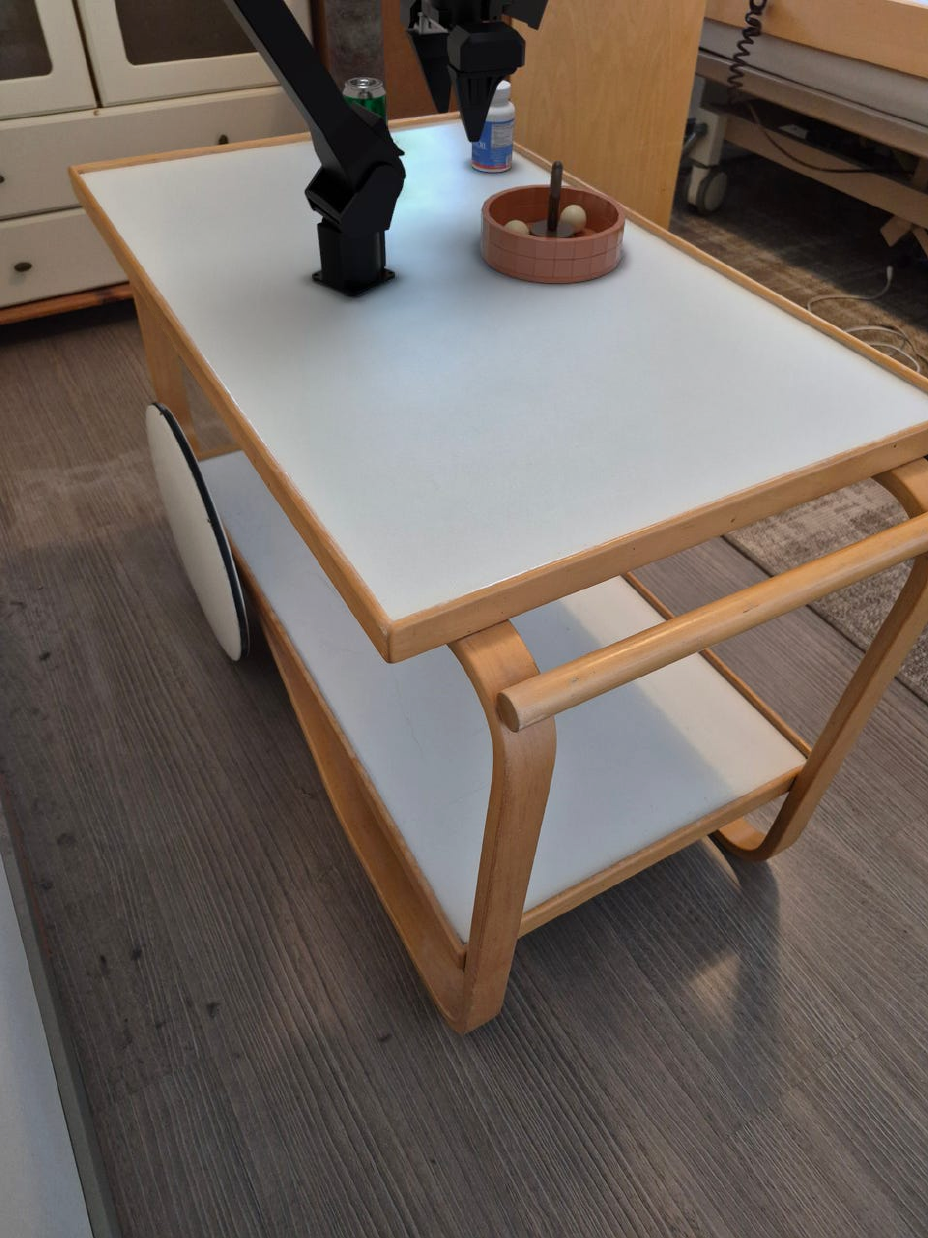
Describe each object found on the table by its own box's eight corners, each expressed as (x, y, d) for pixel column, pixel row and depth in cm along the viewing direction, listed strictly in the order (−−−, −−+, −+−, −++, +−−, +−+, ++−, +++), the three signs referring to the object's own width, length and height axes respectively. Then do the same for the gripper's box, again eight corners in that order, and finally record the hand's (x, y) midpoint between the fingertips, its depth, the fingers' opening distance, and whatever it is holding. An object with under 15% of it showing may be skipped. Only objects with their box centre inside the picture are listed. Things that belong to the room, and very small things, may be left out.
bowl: (566, 297, 94) (571, 254, 90) (452, 254, 100) (452, 212, 97) (646, 249, 102) (653, 209, 99) (535, 212, 109) (538, 173, 106)
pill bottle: (464, 161, 121) (465, 79, 114) (500, 156, 122) (503, 75, 115) (482, 175, 117) (484, 91, 110) (519, 170, 119) (523, 87, 112)
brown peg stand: (555, 260, 98) (563, 173, 92) (519, 247, 100) (524, 161, 94) (581, 245, 101) (591, 160, 95) (545, 233, 103) (552, 149, 97)
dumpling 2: (576, 235, 101) (575, 206, 100) (555, 235, 103) (553, 206, 102) (591, 231, 103) (591, 203, 102) (570, 231, 105) (569, 203, 104)
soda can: (392, 183, 115) (388, 77, 106) (386, 199, 111) (381, 90, 103) (353, 181, 115) (346, 75, 106) (345, 196, 111) (337, 87, 103)
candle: (329, 139, 126) (314, -36, 112) (379, 134, 128) (371, -39, 113) (343, 157, 121) (330, -23, 107) (396, 151, 123) (390, -27, 108)
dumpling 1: (510, 257, 99) (520, 233, 97) (492, 241, 100) (502, 216, 98) (528, 252, 101) (538, 228, 99) (510, 236, 102) (519, 212, 99)
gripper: (587, -50, 76) (569, 149, 87) (504, -86, 88) (497, 92, 99) (463, -44, 73) (461, 161, 84) (395, -82, 85) (400, 101, 96)
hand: (457, 126), depth 91 cm, fingers open, 9 cm apart
